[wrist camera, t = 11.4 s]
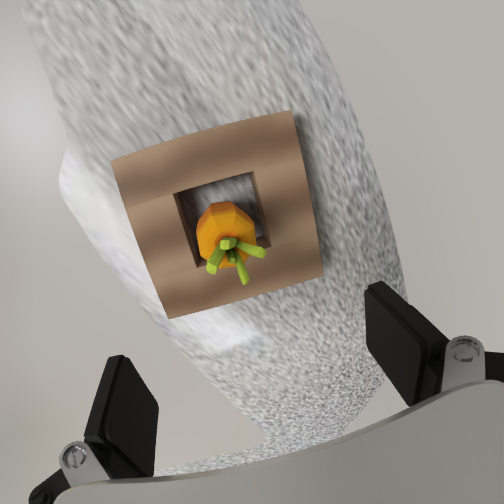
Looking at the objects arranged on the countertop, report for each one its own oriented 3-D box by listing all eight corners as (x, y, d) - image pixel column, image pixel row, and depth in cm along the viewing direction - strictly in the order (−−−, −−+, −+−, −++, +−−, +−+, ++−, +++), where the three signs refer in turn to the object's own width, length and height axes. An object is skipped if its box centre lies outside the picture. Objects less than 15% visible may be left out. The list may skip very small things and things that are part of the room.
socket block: (121, 158, 30) (110, 161, 26) (281, 113, 30) (291, 110, 27) (171, 301, 36) (168, 319, 33) (312, 261, 37) (323, 275, 33)
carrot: (247, 195, 33) (281, 235, 19) (235, 237, 35) (258, 303, 21) (203, 184, 32) (204, 217, 18) (192, 227, 33) (186, 289, 20)
